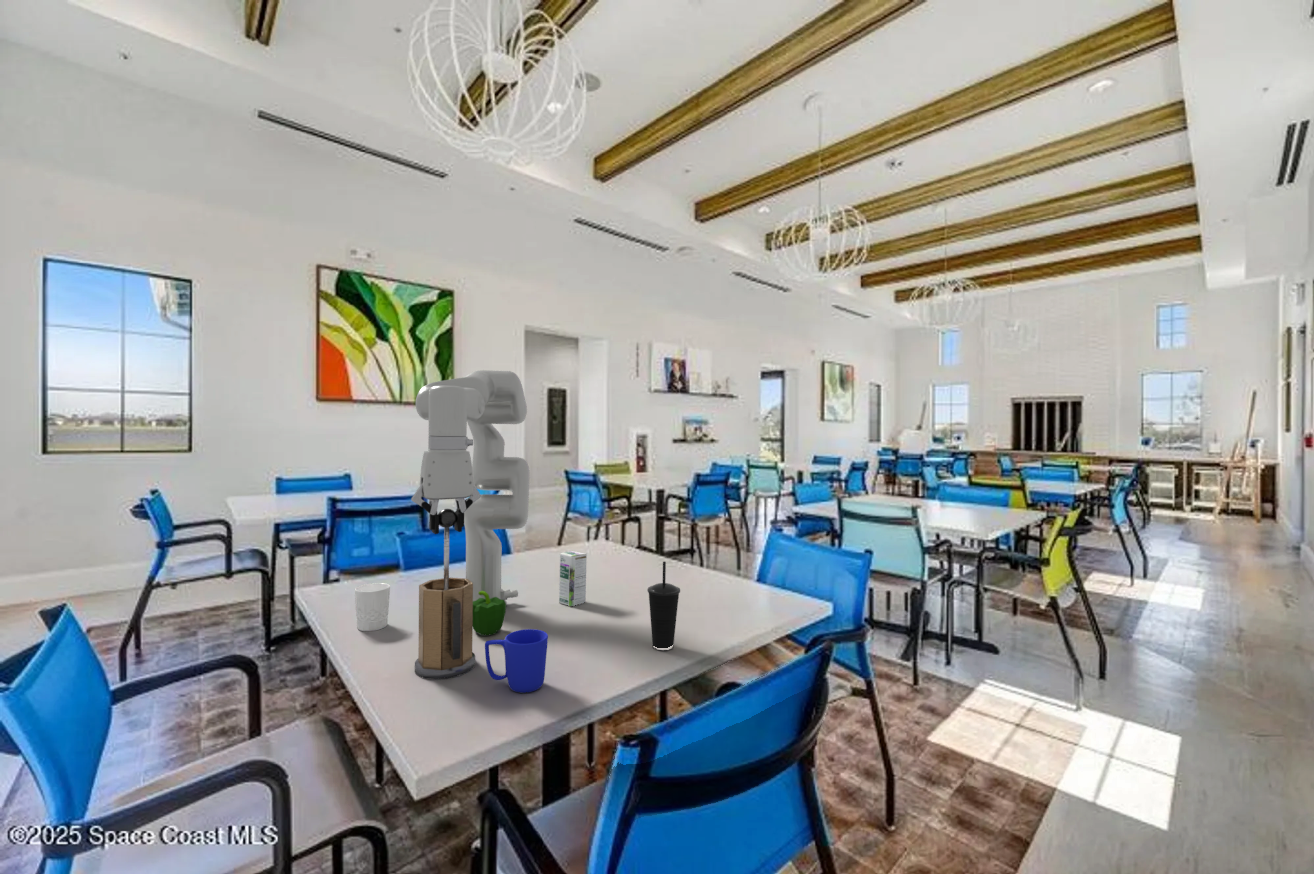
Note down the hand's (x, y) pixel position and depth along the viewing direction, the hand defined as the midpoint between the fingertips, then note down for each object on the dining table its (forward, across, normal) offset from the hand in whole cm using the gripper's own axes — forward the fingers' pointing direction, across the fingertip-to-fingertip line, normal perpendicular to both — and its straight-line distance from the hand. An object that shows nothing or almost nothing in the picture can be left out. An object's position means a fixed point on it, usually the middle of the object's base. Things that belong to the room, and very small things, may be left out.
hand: (446, 530), depth 120 cm
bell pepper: (+29, -14, -15) cm, 36 cm away
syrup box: (+29, -42, -25) cm, 57 cm away
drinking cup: (+29, -45, +16) cm, 56 cm away
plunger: (+14, 0, 0) cm, 14 cm away
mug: (+29, -9, +17) cm, 35 cm away
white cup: (+29, +9, -34) cm, 46 cm away
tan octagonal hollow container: (+29, 0, +1) cm, 29 cm away
